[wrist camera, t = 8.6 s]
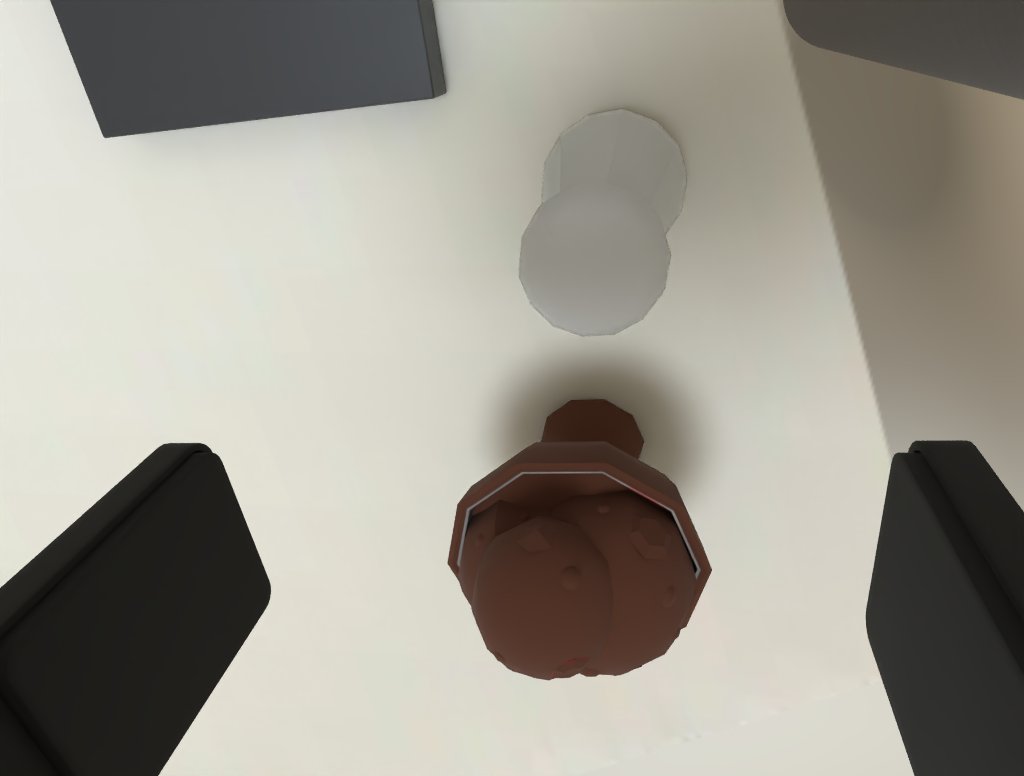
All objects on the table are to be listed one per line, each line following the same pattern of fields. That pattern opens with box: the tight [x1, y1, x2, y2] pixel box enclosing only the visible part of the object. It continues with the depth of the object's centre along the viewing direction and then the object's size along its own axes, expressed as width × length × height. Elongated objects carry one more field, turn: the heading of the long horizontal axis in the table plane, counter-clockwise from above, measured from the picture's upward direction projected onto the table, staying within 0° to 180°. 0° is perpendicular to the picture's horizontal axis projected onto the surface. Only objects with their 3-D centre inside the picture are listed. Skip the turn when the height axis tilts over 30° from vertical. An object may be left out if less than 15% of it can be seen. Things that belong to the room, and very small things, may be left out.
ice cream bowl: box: [448, 399, 712, 680], centre depth 30 cm, size 11×11×15 cm
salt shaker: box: [519, 109, 687, 336], centre depth 24 cm, size 6×6×13 cm
